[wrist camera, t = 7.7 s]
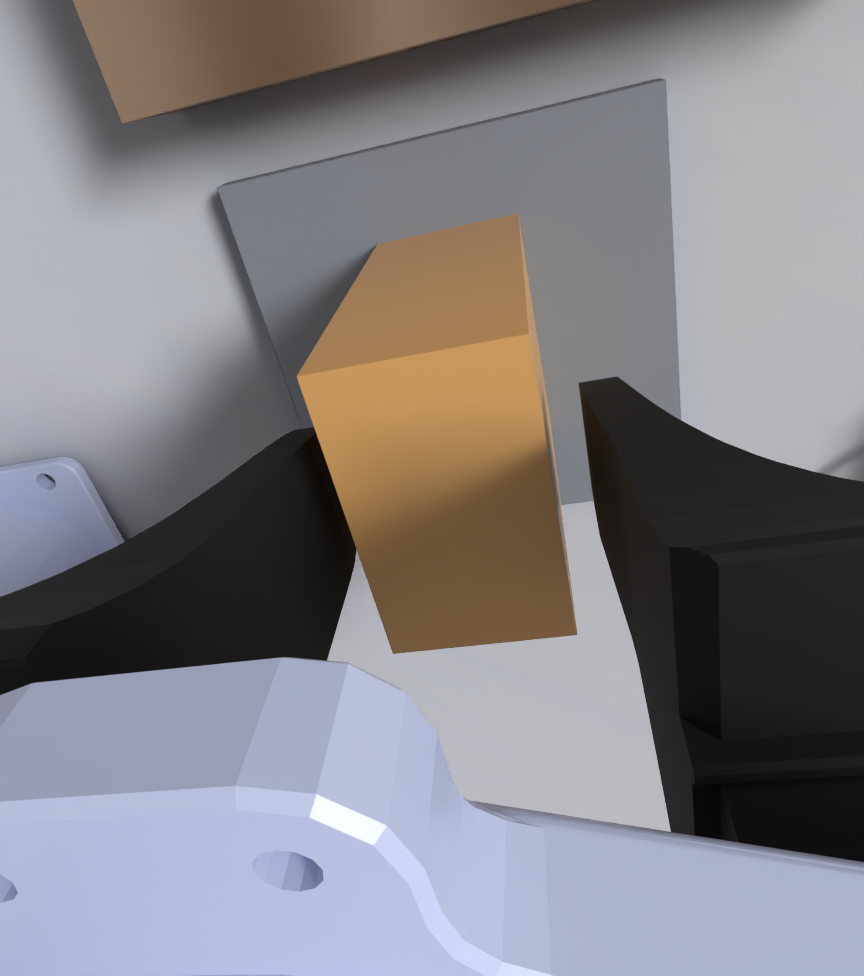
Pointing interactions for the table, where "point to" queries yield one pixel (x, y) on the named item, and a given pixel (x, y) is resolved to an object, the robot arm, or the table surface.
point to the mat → (483, 196)
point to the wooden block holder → (263, 41)
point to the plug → (445, 440)
